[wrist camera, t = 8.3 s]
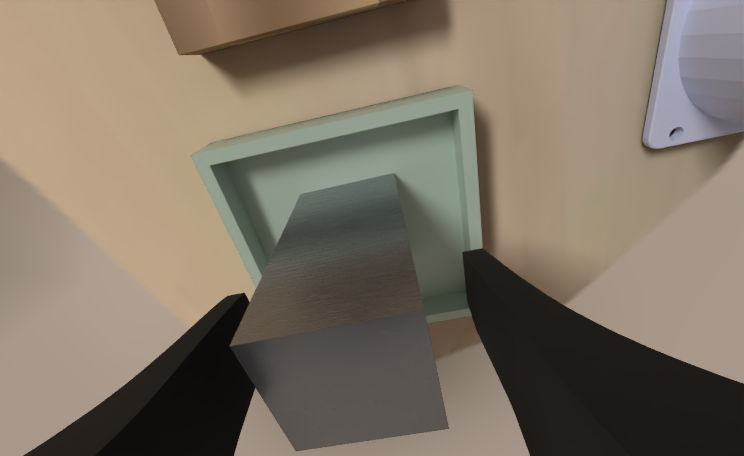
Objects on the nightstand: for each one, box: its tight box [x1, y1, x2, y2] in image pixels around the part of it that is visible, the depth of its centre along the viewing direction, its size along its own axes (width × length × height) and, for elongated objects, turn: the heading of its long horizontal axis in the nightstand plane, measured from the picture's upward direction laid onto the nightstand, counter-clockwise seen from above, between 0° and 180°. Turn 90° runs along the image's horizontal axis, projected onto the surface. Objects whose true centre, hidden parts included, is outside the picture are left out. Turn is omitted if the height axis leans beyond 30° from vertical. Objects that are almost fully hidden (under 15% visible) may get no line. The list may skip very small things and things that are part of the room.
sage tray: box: [190, 85, 483, 323], centre depth 14 cm, size 10×10×2 cm
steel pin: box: [230, 173, 449, 451], centre depth 11 cm, size 4×4×8 cm
